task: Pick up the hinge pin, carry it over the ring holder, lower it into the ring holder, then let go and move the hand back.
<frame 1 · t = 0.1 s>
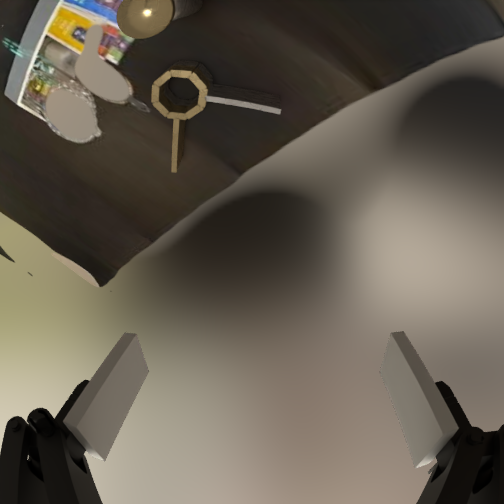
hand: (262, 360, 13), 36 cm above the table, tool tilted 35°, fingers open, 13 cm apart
hinge pin: (188, 3, 23), on the table
ring holder: (186, 83, 33), on the table
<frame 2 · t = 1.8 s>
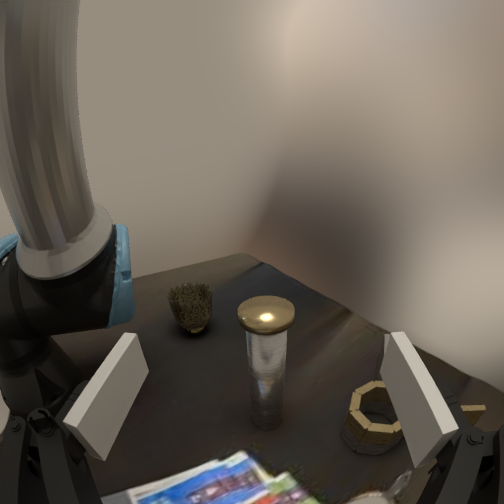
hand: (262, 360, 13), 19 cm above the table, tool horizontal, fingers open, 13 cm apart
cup: (196, 332, 47), on the table
hinge pin: (267, 418, 28), on the table
ring holder: (372, 429, 25), on the table
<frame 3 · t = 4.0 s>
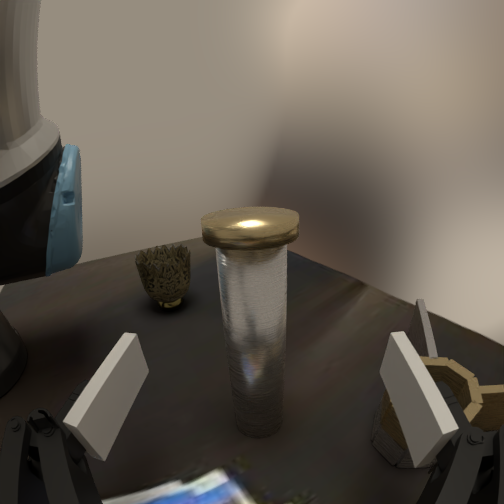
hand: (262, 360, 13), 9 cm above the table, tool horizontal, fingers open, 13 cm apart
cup: (171, 307, 37), on the table
hinge pin: (259, 420, 19), on the table
ring holder: (414, 430, 15), on the table
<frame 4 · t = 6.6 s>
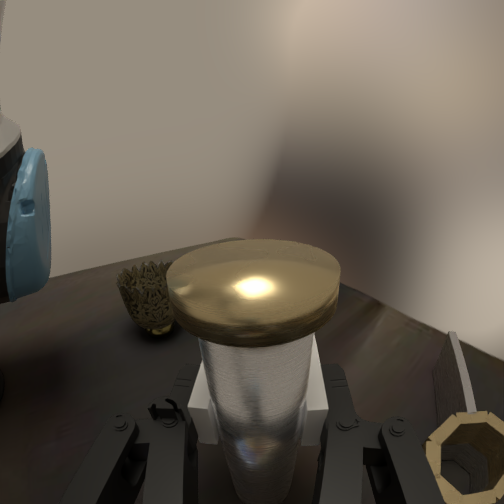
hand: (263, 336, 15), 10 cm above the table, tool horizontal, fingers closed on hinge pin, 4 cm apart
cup: (161, 333, 31), on the table
hinge pin: (262, 486, 13), on the table, touching gripper
ring holder: (440, 489, 9), on the table
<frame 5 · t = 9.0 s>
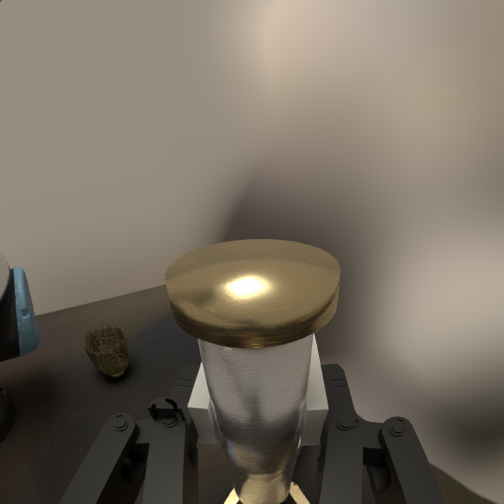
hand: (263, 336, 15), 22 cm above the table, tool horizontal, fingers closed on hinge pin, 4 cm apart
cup: (118, 375, 39), on the table
hinge pin: (262, 487, 13), point 13 cm above the table, touching gripper
when the fingers open (11 cm above the table, at t = 11.9 s): hinge pin drops 1 cm, resting in ring holder.
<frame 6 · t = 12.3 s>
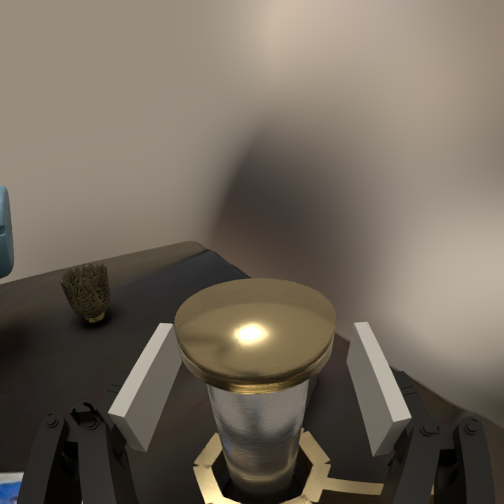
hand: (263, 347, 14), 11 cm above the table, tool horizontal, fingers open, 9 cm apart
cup: (97, 322, 35), on the table
hinge pin: (262, 493, 13), resting in ring holder
ring holder: (262, 493, 13), on the table
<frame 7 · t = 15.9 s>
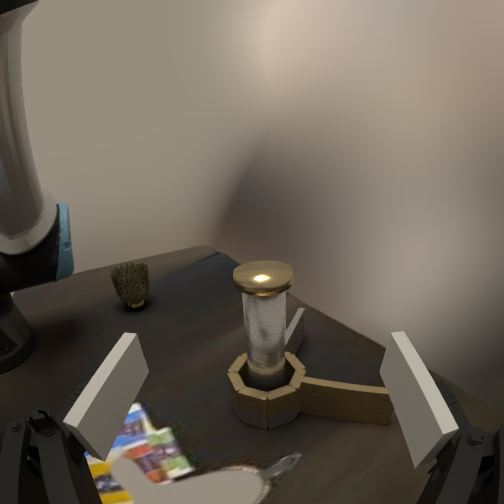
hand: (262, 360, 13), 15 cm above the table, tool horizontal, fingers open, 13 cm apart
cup: (137, 307, 49), on the table
hinge pin: (267, 402, 27), resting in ring holder
ring holder: (267, 402, 27), on the table
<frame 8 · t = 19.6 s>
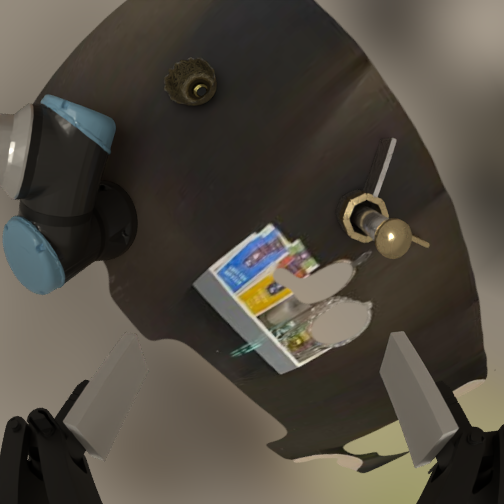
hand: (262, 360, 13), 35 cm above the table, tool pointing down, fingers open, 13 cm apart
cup: (202, 91, 39), on the table
hinge pin: (357, 212, 44), resting in ring holder
ring holder: (357, 212, 44), on the table
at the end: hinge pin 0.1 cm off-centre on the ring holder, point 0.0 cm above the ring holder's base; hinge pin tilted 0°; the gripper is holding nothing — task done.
